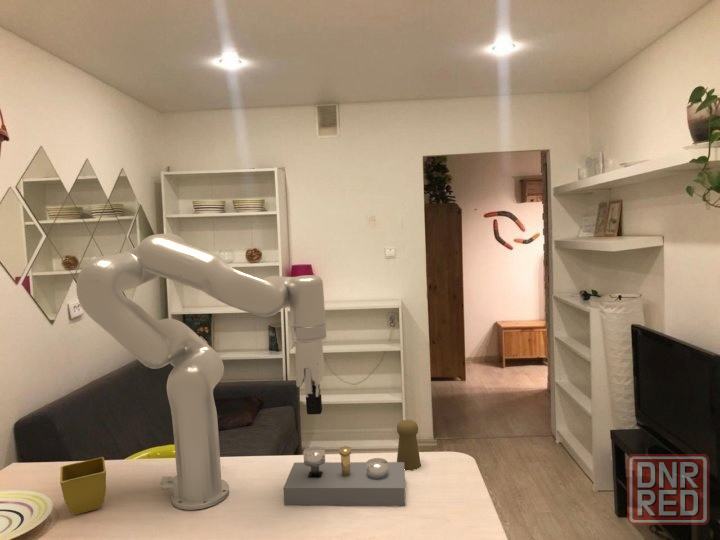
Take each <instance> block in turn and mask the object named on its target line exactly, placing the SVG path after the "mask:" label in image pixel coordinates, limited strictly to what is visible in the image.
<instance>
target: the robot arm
mask: <svg viewBox="0 0 720 540" xmlns="http://www.w3.org/2000/svg"><path fill="white" fill-rule="evenodd" d="M160 277H161V278H165V279H168V280H171V281H174V282H176V283H179V284H181V285H184V286H187V287H191V288H193V289H195V290H199V291H201V292H203V293H205V294H206V295H208V296H210V297H212V298H213V299H215V300H217V301H219V302H221V303H223V304H225V305H227V306H229V307H232V308H235V309H237V310H240V311H243V312H246V313H248V314H252V315H255V316H259V317H272V316H275V315H276V314H277V313H280V311H281V310H282V309H284V308H289V312H290V313H289V314H290V325H291V326H290V327H291V340H292V341H293V342H295V349H294V350H295V355H294V356H295V357H294V358H295V382H296V383H295V385H296V387H297V388H301V387H302V385H303V384H304V390H305V403H306V404H305V405H306V414H307V415H321V414H322V412H323V403H322V394H321V393H322V392H321V382H322V380H323V378H324V376H325V375H324V374H325V363H324V362H325V361H324V360H325V359H324V348H323V346H324V345H323V340H325V339H327V326H326V325H327V324H326V310H325V308H326V307H325V296H324V295H325V294H324V293H325V292H324V283H323V279H322V277H320V275H313V274H309V275H307V274H306V275H298V276H284V275H283V276H282V275H281V276H280V275H270V276H266V277H264V278H259V277H256V276H253V275H250V274H249V273H246V272H242V271H240V270H238V269H236V268H233V267H231V266H230V264H229V265H228V264H227V263H226V262H225V260H224V259H223V258H222V257H221V256H220V255H219V254H217V253H215V252H211V251H209V250H205V249H203V248H199V247H196V246H194V245H191V244H188V243H186V241H185V240H184V238H182V237H181V236H179V235H178V234H175V233H167V232H166V233H157V234H152V235H149V236H147V237H145V238H144V239H142V241H141V242H140V243H139V244H138V246H136V247H134V248H131V249H129V250H126V251H123V252H120V253H116V254H108V255H103V256H98V257H95V258H93V259H92V260H90V261H88V262H87V263H85V265H83V267H82V268H81V269H80V271H79V273H78V277H77V278H76V285H75V286H76V287H75V288H76V290H75V291H76V296H77V299H78V302H79V304H80V306H81V308H82V310H83V311H84V312H85V314H86V315H87V316H88V317H89V318H91V320H92V321H94V322H95V323H96V324H97V326H100V327H101V328H102V329H103V330H104V331H105V332H107V334H109V336H111V337H112V338H114V339H115V340H116V342H117V343H118V344H119V345H121V346H122V347H123V348H124V349H125V350H126V351H127V352H129V353H130V354H131V355H132V356H133V357H134V358H136V359H137V360H138V361H139V362H140V363H141V364H142V365H144V367H146V368H149V369H153V370H154V369H155V370H156V369H161V368H163V367H165V366H167V365H169V364H170V365H171V366H172V367H173V368H172V369H171V371H170V373H169V374H168V377H167V382H166V393H167V395H166V396H167V399H168V402H169V406H170V413H171V421H172V430H173V444H174V455H175V456H174V457H175V469H176V475H175V476H170V475H167V476H166V475H165V476H162V477H161V480H160V485H161V490H163V491H164V490H165V491H166V490H171V491H172V493H171V496H170V497H171V498H170V500H171V503H172V505H173V506H175V507H176V508H178V509H181V510H185V511H189V510H190V511H191V510H192V511H194V510H202V509H206V508H210V507H213V506H215V505H218V504H219V503H221V502H222V501H224V500H225V499H226V498H227V497H228V495H229V494H230V485H229V483H228V481H226V480H224V479H222V468H221V467H222V465H221V453H220V452H221V451H220V440H219V439H220V437H219V435H220V434H219V425H218V423H219V422H218V413H217V407H216V402H215V398H214V389H215V388H216V386H217V385H218V383H219V382H220V381H221V379H222V378H223V376H224V372H225V366H224V362H223V360H222V357H221V355H219V353H218V352H216V350H214V348H213V347H211V346H210V345H209V344H208V343H207V342H206V341H205V340H203V338H201V337H200V336H199V335H198V334H197V333H196V332H195V331H194V330H193V329H192V328H190V327H189V326H188V325H187V324H186V323H184V322H183V321H180V320H178V319H175V318H163V319H159V320H157V319H156V318H154V317H153V316H152V315H150V314H149V313H148V312H147V311H146V310H145V309H144V308H143V307H142V306H140V305H139V304H138V303H136V302H135V301H133V300H131V299H130V298H128V297H126V296H125V295H124V294H123V292H125V291H128V290H131V289H134V288H136V287H140V286H141V285H143V284H146V283H148V282H150V281H152V280H155V279H157V278H160Z"/></svg>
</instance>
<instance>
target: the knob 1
mask: <svg viewBox="0 0 720 540" xmlns="http://www.w3.org/2000/svg"><path fill="white" fill-rule="evenodd" d="M303 462H304V464H305V465H306V466H310V467H311V478H319V466H320V465H323V464H324V463H325V462H326V450H325V448H324V447H321V446H310V447H307V448H304V450H303Z"/></svg>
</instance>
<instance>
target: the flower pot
mask: <svg viewBox="0 0 720 540" xmlns="http://www.w3.org/2000/svg"><path fill="white" fill-rule="evenodd" d="M59 483H60V488H61V491H62V496H63V501H64V502H65V505H66V507H67V508H68V510H69V512H71V513H72V514H73V515H75V516H76V515H80V514H83V513H87V512H91V511H96V510H99V509H100V508H101V507H102V506H103V502H104V500H105V497H106V493H107V492H106V491H107V469H106V461H105V458H104V456H100V457H97V458H92V459H87V460H84V461H79V462H74V463H70V464H69V463H68V464H66V465H63V466H61V467H60V476H59Z"/></svg>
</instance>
